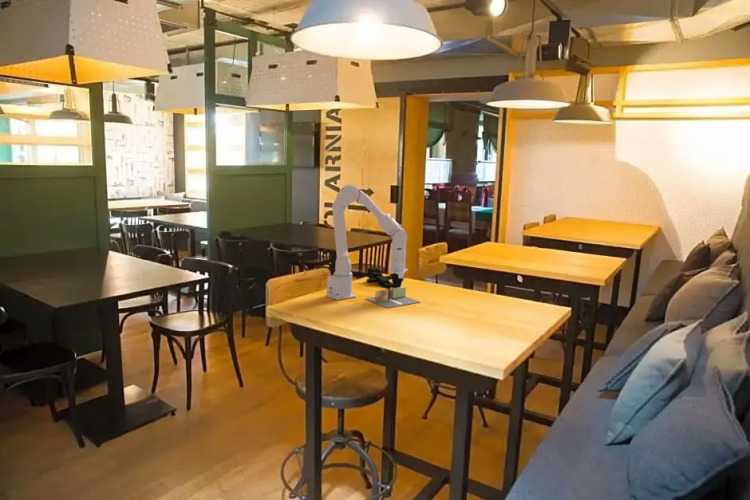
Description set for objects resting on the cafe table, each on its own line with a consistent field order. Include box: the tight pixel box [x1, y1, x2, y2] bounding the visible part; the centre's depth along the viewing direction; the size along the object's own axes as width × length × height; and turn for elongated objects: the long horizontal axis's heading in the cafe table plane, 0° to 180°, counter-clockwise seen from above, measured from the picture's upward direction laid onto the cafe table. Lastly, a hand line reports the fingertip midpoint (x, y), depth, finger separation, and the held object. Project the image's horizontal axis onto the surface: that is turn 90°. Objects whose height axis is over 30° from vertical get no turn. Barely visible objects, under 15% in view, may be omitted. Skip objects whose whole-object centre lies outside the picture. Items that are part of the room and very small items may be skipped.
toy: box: [366, 266, 393, 289], centre depth 235 cm, size 14×6×15 cm
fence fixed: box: [374, 287, 392, 301], centre depth 210 cm, size 7×1×5 cm, turn 126°
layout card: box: [365, 295, 421, 309], centre depth 211 cm, size 16×14×1 cm
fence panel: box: [390, 286, 407, 298], centre depth 214 cm, size 7×1×4 cm, turn 125°
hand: (396, 291), depth 216 cm, fingers closed, pressing on fence panel
